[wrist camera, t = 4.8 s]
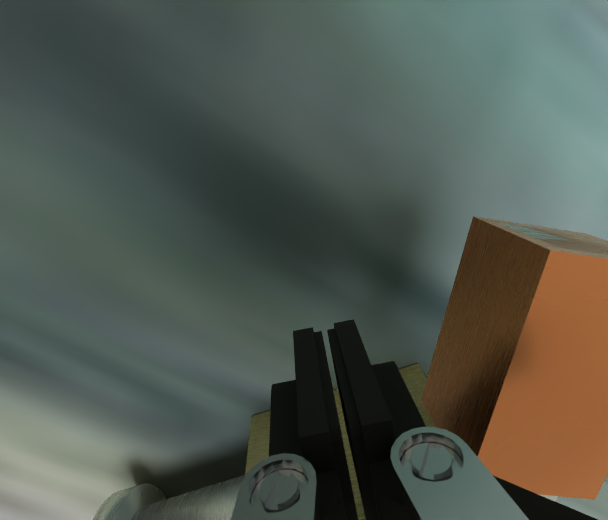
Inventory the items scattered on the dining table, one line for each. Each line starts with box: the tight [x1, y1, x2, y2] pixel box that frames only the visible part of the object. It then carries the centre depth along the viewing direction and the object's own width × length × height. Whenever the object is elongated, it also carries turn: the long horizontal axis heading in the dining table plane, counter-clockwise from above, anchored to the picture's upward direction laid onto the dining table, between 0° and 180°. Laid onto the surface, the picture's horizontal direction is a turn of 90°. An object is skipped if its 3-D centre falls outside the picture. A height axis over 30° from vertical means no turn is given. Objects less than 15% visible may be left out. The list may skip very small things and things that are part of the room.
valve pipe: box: [93, 363, 608, 520], centre depth 18 cm, size 7×24×9 cm, turn 109°
